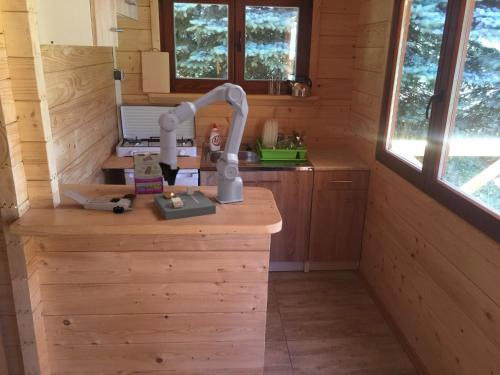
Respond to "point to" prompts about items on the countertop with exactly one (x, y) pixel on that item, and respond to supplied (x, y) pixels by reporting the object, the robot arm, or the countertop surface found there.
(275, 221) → the countertop surface
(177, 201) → the rocker switch
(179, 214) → the panel
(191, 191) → the tan rectangular block
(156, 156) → the candy bar box
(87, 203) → the white long dark-ended device
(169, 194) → the push button
